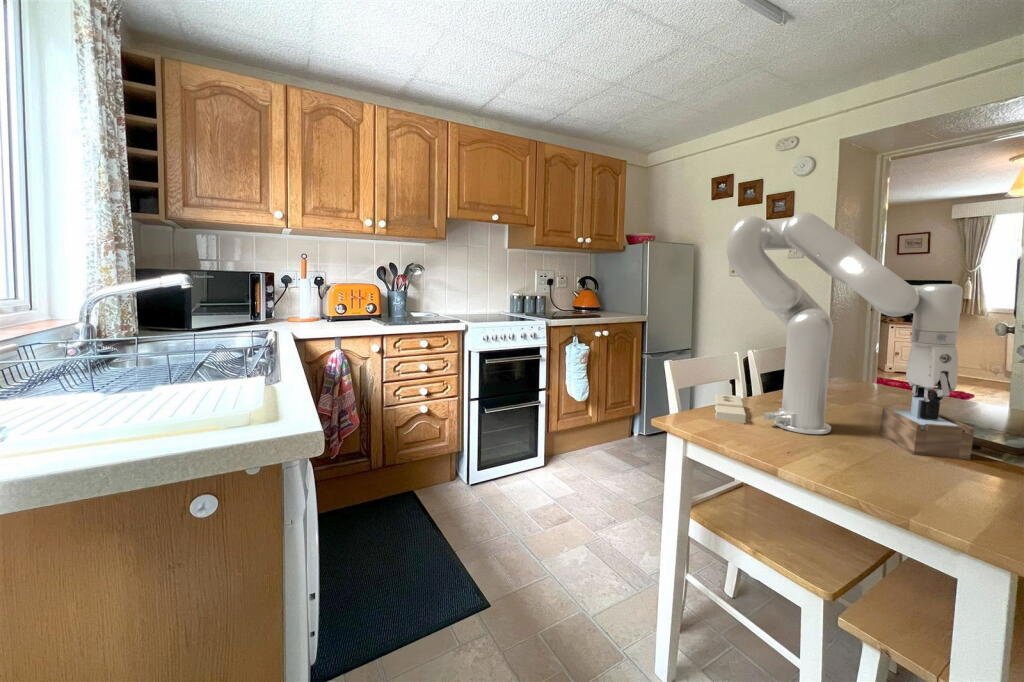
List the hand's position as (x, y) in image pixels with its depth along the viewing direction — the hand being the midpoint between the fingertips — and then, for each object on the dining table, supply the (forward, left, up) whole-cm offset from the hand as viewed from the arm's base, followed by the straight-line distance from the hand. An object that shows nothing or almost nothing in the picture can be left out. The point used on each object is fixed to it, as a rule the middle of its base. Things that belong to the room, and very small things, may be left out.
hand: (924, 415), depth 100 cm
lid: (0, 0, -2) cm, 2 cm away
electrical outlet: (-31, +28, -8) cm, 42 cm away
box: (0, 0, -7) cm, 7 cm away
